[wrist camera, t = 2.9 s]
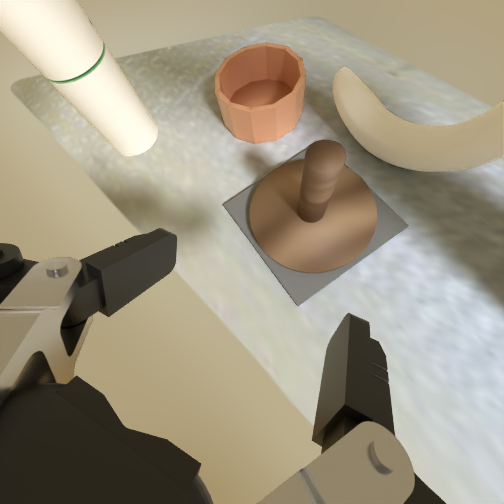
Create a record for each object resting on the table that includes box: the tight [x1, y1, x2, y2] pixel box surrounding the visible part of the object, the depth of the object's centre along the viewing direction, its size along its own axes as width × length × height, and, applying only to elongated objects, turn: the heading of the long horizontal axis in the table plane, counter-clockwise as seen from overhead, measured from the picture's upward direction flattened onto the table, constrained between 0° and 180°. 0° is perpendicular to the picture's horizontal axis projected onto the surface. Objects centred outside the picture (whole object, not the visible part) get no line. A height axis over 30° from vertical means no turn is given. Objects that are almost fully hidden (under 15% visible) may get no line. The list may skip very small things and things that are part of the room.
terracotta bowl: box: [215, 42, 306, 144], centre depth 30 cm, size 11×11×5 cm
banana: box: [333, 67, 504, 172], centre depth 22 cm, size 5×19×15 cm, turn 48°
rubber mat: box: [224, 148, 409, 306], centre depth 27 cm, size 15×15×1 cm
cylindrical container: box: [0, 0, 158, 156], centre depth 23 cm, size 7×7×25 cm
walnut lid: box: [250, 140, 377, 273], centre depth 22 cm, size 14×14×10 cm
